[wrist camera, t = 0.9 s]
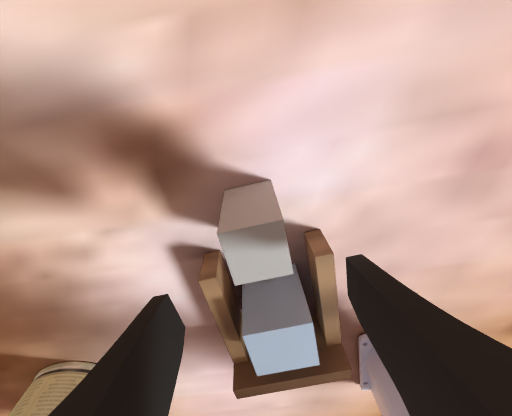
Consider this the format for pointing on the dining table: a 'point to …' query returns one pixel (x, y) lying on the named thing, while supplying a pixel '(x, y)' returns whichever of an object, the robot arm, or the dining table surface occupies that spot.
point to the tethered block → (266, 281)
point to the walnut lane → (324, 322)
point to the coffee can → (51, 388)
